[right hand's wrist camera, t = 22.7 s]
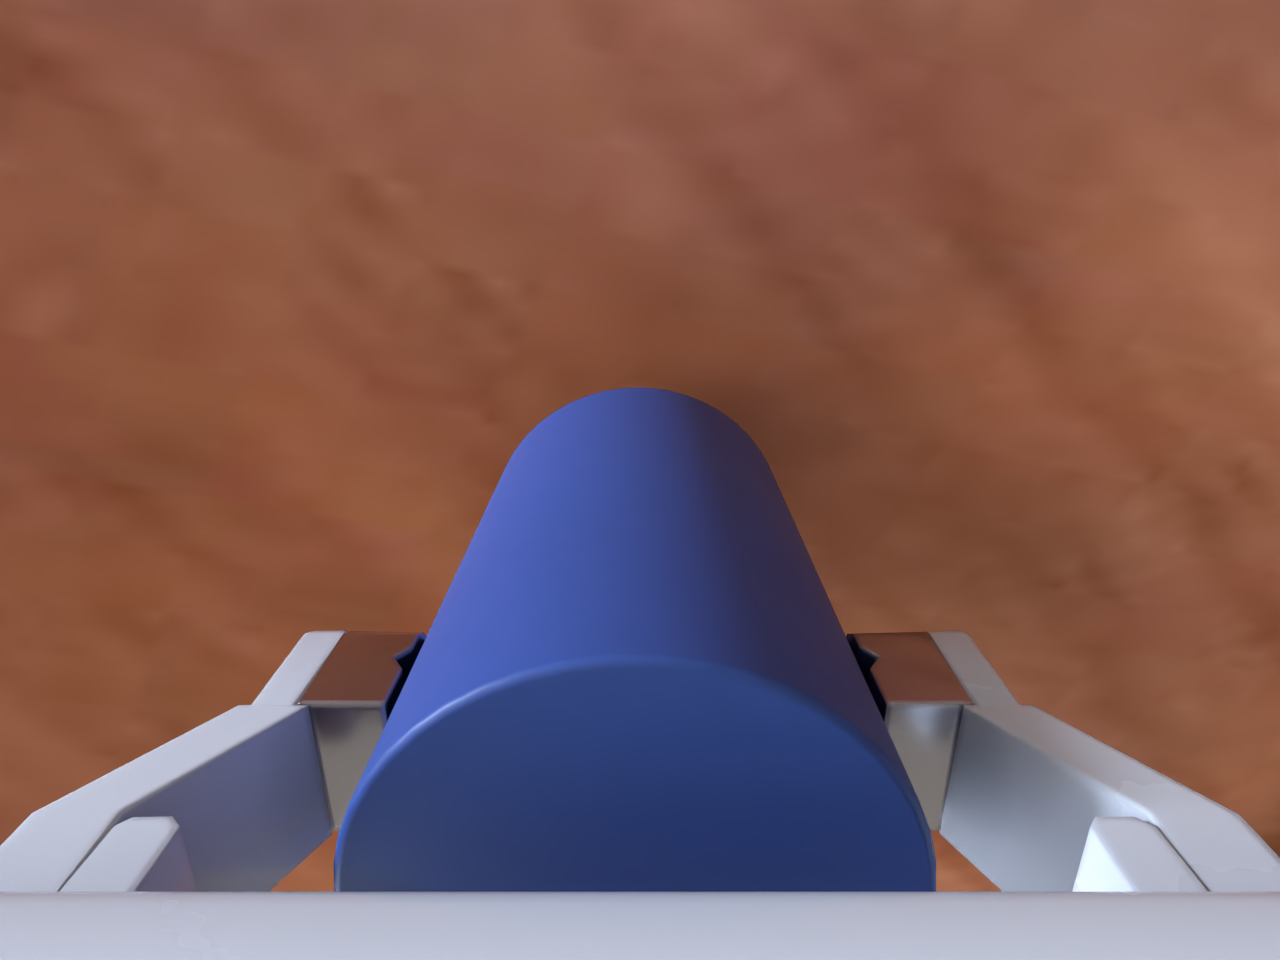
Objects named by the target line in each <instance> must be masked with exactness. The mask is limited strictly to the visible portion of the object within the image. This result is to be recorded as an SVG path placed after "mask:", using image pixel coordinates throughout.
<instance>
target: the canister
mask: <svg viewBox="0 0 1280 960" xmlns="http://www.w3.org/2000/svg"><path fill="white" fill-rule="evenodd" d="M334 890H335V892H936V858H935V852H934V847H933V841H932V836H931V830H930V828H929V825H928V823H927V820H926V817H925V815H924V812H923V809H922V807H921V804H920V801H919V799H918V797H917V795H916V792H915V790H914V788H913V786H912V783H911V781H910V779H909V777H908V774H907V772H906V770H905V768H904V766H903V763H902V761H901V759H900V757H899V754H898V752H897V750H896V748H895V745H894V743H893V741H892V739H891V737H890V734H889V732H888V730H887V728H886V725H885V723H884V721H883V719H882V716H881V714H880V712H879V710H878V708H877V705H876V703H875V701H874V699H873V696H872V694H871V692H870V690H869V687H868V685H867V683H866V681H865V679H864V676H863V674H862V672H861V670H860V667H859V665H858V663H857V661H856V658H855V656H854V654H853V652H852V650H851V647H850V645H849V643H848V641H847V638H846V636H845V634H844V632H843V630H842V627H841V625H840V623H839V621H838V618H837V616H836V614H835V612H834V609H833V607H832V605H831V603H830V601H829V598H828V596H827V594H826V592H825V589H824V587H823V585H822V583H821V580H820V578H819V576H818V574H817V572H816V569H815V567H814V565H813V563H812V560H811V558H810V556H809V554H808V551H807V549H806V547H805V545H804V543H803V540H802V538H801V536H800V534H799V531H798V529H797V527H796V525H795V522H794V520H793V518H792V516H791V514H790V511H789V509H788V507H787V505H786V502H785V500H784V498H783V496H782V493H781V491H780V489H779V487H778V485H777V482H776V480H775V478H774V476H773V473H772V471H771V469H770V467H769V465H768V463H767V461H766V460H765V458H764V456H763V454H762V453H761V451H760V449H759V448H758V447H757V446H756V444H755V443H754V442H753V440H752V439H751V438H750V436H749V435H748V434H747V433H746V432H745V431H743V430H742V429H741V428H740V427H739V426H738V425H737V424H736V423H735V422H734V421H732V420H731V419H730V418H728V417H727V416H726V415H724V414H723V413H722V412H720V411H719V410H717V409H715V408H713V407H711V406H710V405H708V404H706V403H704V402H702V401H699V400H697V399H694V398H692V397H689V396H687V395H683V394H679V393H675V392H671V391H667V390H661V389H652V388H622V389H615V390H608V391H603V392H600V393H596V394H592V395H589V396H586V397H583V398H581V399H579V400H576V401H574V402H571V403H569V404H567V405H566V406H564V407H562V408H560V409H559V410H557V411H555V412H554V413H552V414H551V415H549V416H548V417H547V418H546V419H544V420H543V421H542V422H540V423H539V424H538V425H537V426H536V427H535V428H534V429H533V430H532V431H531V432H530V433H529V434H528V435H527V436H526V437H525V438H524V439H523V441H522V442H521V443H520V445H519V446H518V447H517V449H516V450H515V452H514V453H513V455H512V457H511V459H510V460H509V462H508V464H507V466H506V468H505V470H504V472H503V474H502V476H501V478H500V481H499V483H498V485H497V487H496V489H495V491H494V493H493V496H492V498H491V500H490V502H489V504H488V506H487V508H486V511H485V513H484V515H483V517H482V519H481V521H480V523H479V526H478V528H477V530H476V532H475V534H474V536H473V539H472V541H471V543H470V545H469V547H468V549H467V551H466V554H465V556H464V558H463V560H462V562H461V564H460V566H459V569H458V571H457V573H456V575H455V577H454V579H453V581H452V584H451V586H450V588H449V590H448V592H447V594H446V596H445V599H444V601H443V603H442V605H441V607H440V609H439V611H438V614H437V616H436V618H435V620H434V622H433V624H432V626H431V629H430V631H429V633H428V635H427V637H426V639H425V642H424V644H423V646H422V648H421V650H420V652H419V654H418V657H417V659H416V661H415V663H414V665H413V667H412V669H411V672H410V674H409V676H408V678H407V680H406V682H405V684H404V687H403V689H402V691H401V693H400V695H399V697H398V699H397V702H396V704H395V706H394V708H393V710H392V712H391V714H390V717H389V719H388V721H387V723H386V725H385V727H384V730H383V732H382V734H381V736H380V738H379V740H378V742H377V745H376V747H375V749H374V751H373V753H372V755H371V757H370V760H369V762H368V764H367V766H366V768H365V770H364V772H363V775H362V777H361V779H360V781H359V783H358V785H357V787H356V790H355V792H354V794H353V796H352V798H351V800H350V802H349V805H348V807H347V810H346V813H345V816H344V819H343V822H342V825H341V828H340V831H339V834H338V839H337V846H336V853H335V859H334Z"/></svg>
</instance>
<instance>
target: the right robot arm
mask: <svg viewBox="0 0 1280 960" xmlns="http://www.w3.org/2000/svg"><path fill="white" fill-rule="evenodd" d="M846 638H847V641H848V643H849V645H850V647H851V650H852V652H853V654H854V656H855V658H856V661H857V663H858V665H859V667H860V670H861V672H862V674H863V676H864V679H865V681H866V683H867V685H868V687H869V690H870V692H871V694H872V696H873V699H874V701H875V703H876V705H877V708H878V710H879V712H880V714H881V716H882V719H883V721H884V723H885V725H886V728H887V730H888V732H889V734H890V737H891V739H892V741H893V743H894V745H895V748H896V750H897V752H898V754H899V757H900V759H901V761H902V763H903V766H904V768H905V770H906V772H907V774H908V777H909V779H910V781H911V783H912V786H913V788H914V790H915V792H916V795H917V797H918V799H919V801H920V804H921V807H922V809H923V812H924V815H925V817H926V820H927V823H928V825H929V828H930V830H940V834H941V835H942V836H943V837H944V838H945V839H946V840H947V841H948V842H949V843H951V844H952V845H953V846H954V847H955V848H956V849H957V850H958V851H959V852H960V853H961V854H962V855H964V856H965V857H966V858H967V859H968V860H969V861H970V862H971V863H972V864H973V865H974V866H976V867H977V868H978V869H979V870H980V871H981V872H982V873H983V874H984V875H985V876H986V877H988V878H989V879H990V880H991V881H992V882H993V883H994V884H995V885H996V886H997V887H998V888H999V889H1001V890H1002V891H1003V892H269V891H270V890H271V889H272V888H273V887H274V886H276V885H277V884H278V883H279V882H280V881H281V880H282V879H283V878H284V877H286V876H287V875H288V874H289V873H290V872H291V871H292V870H293V869H294V868H295V867H297V866H298V865H299V864H300V863H301V862H302V861H303V860H304V859H305V858H306V857H308V856H309V855H310V854H311V853H312V852H313V851H314V850H315V849H316V848H317V847H319V846H320V845H321V844H322V843H323V842H324V841H325V840H326V839H327V838H328V837H330V836H331V835H332V830H340V828H341V825H342V822H343V819H344V816H345V813H346V810H347V807H348V805H349V802H350V800H351V798H352V796H353V794H354V792H355V790H356V787H357V785H358V783H359V781H360V779H361V777H362V775H363V772H364V770H365V768H366V766H367V764H368V762H369V760H370V757H371V755H372V753H373V751H374V749H375V747H376V745H377V742H378V740H379V738H380V736H381V734H382V732H383V730H384V727H385V725H386V723H387V721H388V719H389V717H390V714H391V712H392V710H393V708H394V706H395V704H396V702H397V699H398V697H399V695H400V693H401V691H402V689H403V687H404V684H405V682H406V680H407V678H408V676H409V674H410V672H411V669H412V667H413V665H414V663H415V661H416V659H417V657H418V654H419V652H420V650H421V648H422V646H423V644H424V642H425V639H426V636H425V634H424V633H416V632H366V631H350V632H347V631H312V632H309V633H305V634H304V635H303V636H302V638H301V639H300V640H299V642H298V643H297V644H296V646H295V647H294V648H293V650H292V651H291V652H290V654H289V655H288V656H287V658H286V659H285V660H284V662H283V663H282V664H281V666H280V667H279V668H278V670H277V671H276V672H275V674H274V675H273V676H272V678H271V679H270V680H269V682H268V683H267V684H266V686H265V687H264V689H263V690H262V691H261V693H260V694H259V695H258V697H257V698H256V699H255V701H254V702H253V703H252V705H239V706H237V707H235V708H233V709H231V710H229V711H227V712H225V713H223V714H221V715H219V716H217V717H216V718H214V719H212V720H210V721H208V722H206V723H204V724H202V725H200V726H198V727H196V728H194V729H193V730H191V731H189V732H187V733H185V734H183V735H181V736H179V737H177V738H175V739H173V740H171V741H170V742H168V743H166V744H164V745H162V746H160V747H158V748H156V749H154V750H152V751H150V752H148V753H147V754H145V755H143V756H141V757H139V758H137V759H135V760H133V761H131V762H129V763H127V764H125V765H124V766H122V767H120V768H118V769H116V770H114V771H112V772H110V773H108V774H106V775H104V776H102V777H101V778H99V779H97V780H95V781H93V782H91V783H89V784H87V785H85V786H83V787H81V788H79V789H78V790H76V791H74V792H72V793H70V794H68V795H66V796H64V797H62V798H60V799H58V800H56V801H55V802H53V803H51V804H49V805H47V806H45V807H43V808H41V809H39V810H37V811H35V812H34V813H32V814H31V815H30V816H29V817H28V818H27V819H26V820H25V821H24V822H23V823H22V824H21V825H20V826H19V827H18V828H17V829H16V830H15V831H14V832H13V833H12V834H11V836H10V837H9V838H8V839H7V840H6V841H5V842H4V843H3V844H2V845H1V846H0V960H1280V857H1279V856H1278V855H1277V854H1276V853H1275V852H1274V851H1273V850H1272V849H1271V848H1270V847H1269V846H1268V845H1267V844H1266V842H1265V841H1264V840H1263V839H1262V838H1261V837H1260V836H1259V835H1258V834H1257V833H1256V832H1255V831H1254V830H1253V829H1252V828H1251V827H1250V825H1249V824H1248V823H1247V822H1246V821H1245V820H1244V819H1243V818H1242V817H1241V816H1240V815H1239V814H1237V813H1235V812H1233V811H1232V810H1230V809H1228V808H1226V807H1224V806H1222V805H1220V804H1218V803H1216V802H1214V801H1213V800H1211V799H1209V798H1207V797H1205V796H1203V795H1201V794H1199V793H1197V792H1196V791H1194V790H1192V789H1190V788H1188V787H1186V786H1184V785H1182V784H1180V783H1179V782H1177V781H1175V780H1173V779H1171V778H1169V777H1167V776H1165V775H1163V774H1162V773H1160V772H1158V771H1156V770H1154V769H1152V768H1150V767H1148V766H1146V765H1145V764H1143V763H1141V762H1139V761H1137V760H1135V759H1133V758H1131V757H1129V756H1128V755H1126V754H1124V753H1122V752H1120V751H1118V750H1116V749H1114V748H1112V747H1110V746H1109V745H1107V744H1105V743H1103V742H1101V741H1099V740H1097V739H1095V738H1093V737H1092V736H1090V735H1088V734H1086V733H1084V732H1082V731H1080V730H1078V729H1076V728H1075V727H1073V726H1071V725H1069V724H1067V723H1065V722H1063V721H1061V720H1059V719H1058V718H1056V717H1054V716H1052V715H1050V714H1048V713H1046V712H1044V711H1042V710H1041V709H1039V708H1037V707H1035V706H1033V705H1020V704H1019V703H1018V701H1017V700H1016V698H1015V697H1014V696H1013V694H1012V693H1011V692H1010V690H1009V689H1008V688H1007V686H1006V685H1005V684H1004V682H1003V681H1002V679H1001V678H1000V677H999V675H998V674H997V673H996V671H995V670H994V669H993V667H992V666H991V665H990V663H989V662H988V660H987V659H986V658H985V656H984V655H983V654H982V652H981V651H980V650H979V648H978V647H977V646H976V644H975V643H974V641H973V640H972V639H971V637H970V636H969V635H968V634H967V633H965V632H963V631H961V630H958V631H931V632H904V633H864V634H847V636H846Z"/></svg>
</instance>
